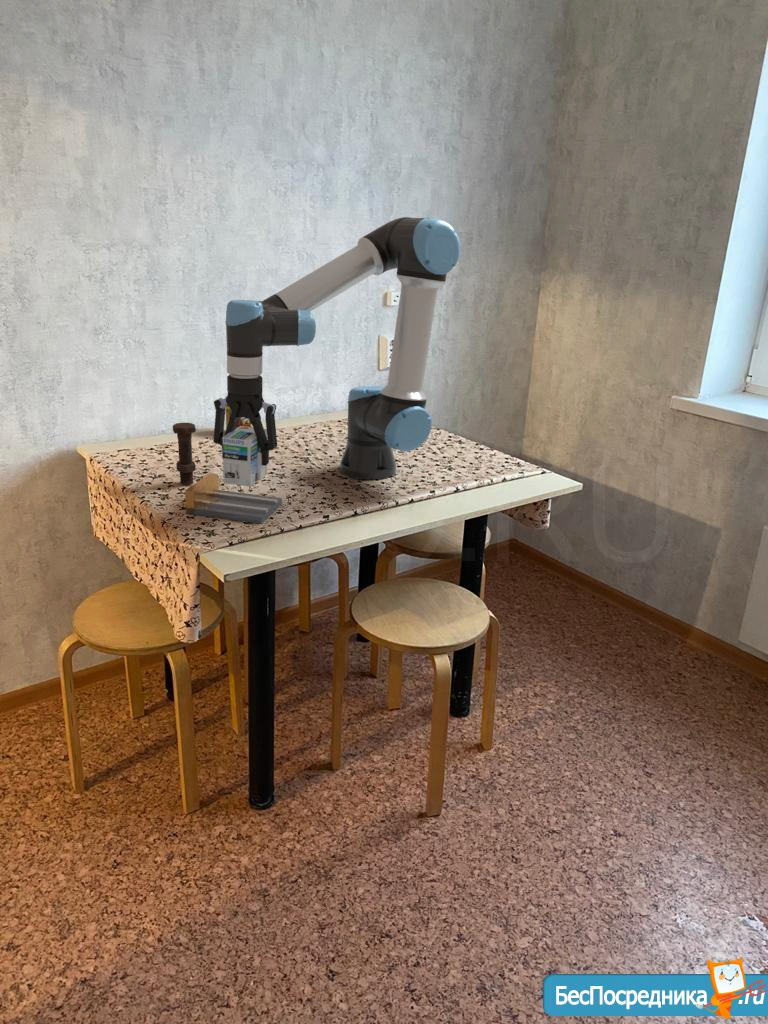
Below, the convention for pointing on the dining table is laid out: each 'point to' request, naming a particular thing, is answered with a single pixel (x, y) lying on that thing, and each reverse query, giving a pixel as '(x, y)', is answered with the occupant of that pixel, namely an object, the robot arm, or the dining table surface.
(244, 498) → the rail plate
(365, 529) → the dining table surface
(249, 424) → the canned food
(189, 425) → the bolt
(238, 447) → the light bulb box
